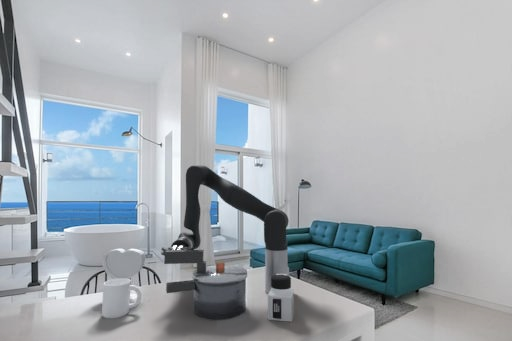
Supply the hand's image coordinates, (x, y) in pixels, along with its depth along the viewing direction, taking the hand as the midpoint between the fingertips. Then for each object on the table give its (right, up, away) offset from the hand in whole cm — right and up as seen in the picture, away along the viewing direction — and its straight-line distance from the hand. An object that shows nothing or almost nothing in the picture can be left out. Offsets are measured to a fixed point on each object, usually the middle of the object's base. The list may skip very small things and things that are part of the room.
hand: (172, 256), depth 100 cm
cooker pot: (+13, -18, -3) cm, 22 cm away
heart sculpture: (-23, -19, +11) cm, 32 cm away
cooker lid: (+12, -7, -1) cm, 14 cm away
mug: (-15, -18, -6) cm, 24 cm away
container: (+38, -18, -7) cm, 42 cm away
